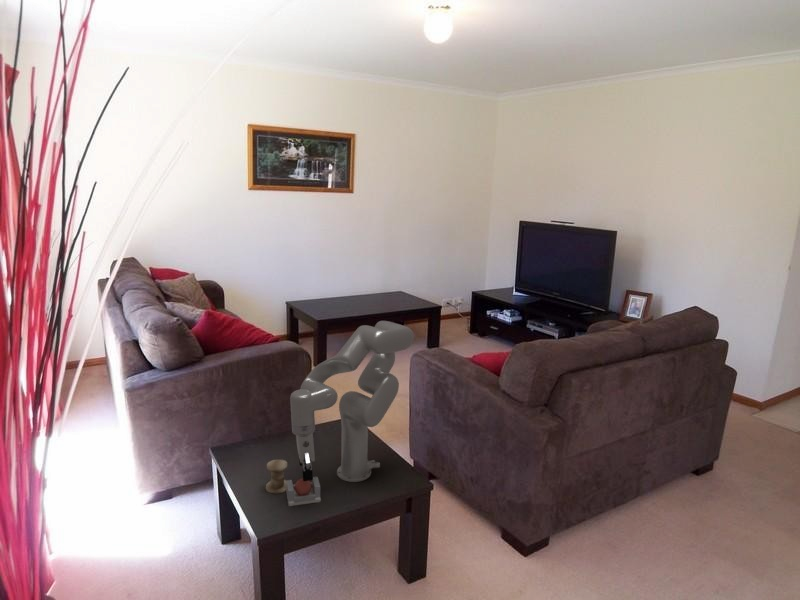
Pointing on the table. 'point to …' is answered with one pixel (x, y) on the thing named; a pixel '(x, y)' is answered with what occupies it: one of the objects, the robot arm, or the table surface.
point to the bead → (302, 487)
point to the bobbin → (276, 476)
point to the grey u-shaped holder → (303, 499)
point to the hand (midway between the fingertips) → (306, 472)
